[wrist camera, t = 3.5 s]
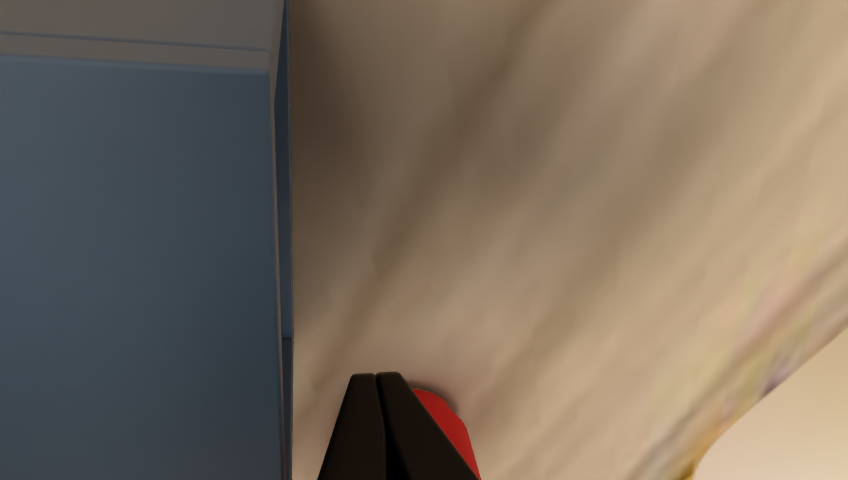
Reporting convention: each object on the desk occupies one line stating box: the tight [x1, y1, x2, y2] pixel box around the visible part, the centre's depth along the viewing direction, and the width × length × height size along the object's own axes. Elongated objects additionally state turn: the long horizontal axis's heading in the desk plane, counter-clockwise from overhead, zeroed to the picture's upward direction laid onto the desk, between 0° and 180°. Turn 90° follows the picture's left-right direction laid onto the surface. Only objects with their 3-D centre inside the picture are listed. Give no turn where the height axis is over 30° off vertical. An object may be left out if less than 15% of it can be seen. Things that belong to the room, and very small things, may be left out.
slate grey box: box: [0, 0, 294, 480], centre depth 11 cm, size 12×6×9 cm, turn 173°
